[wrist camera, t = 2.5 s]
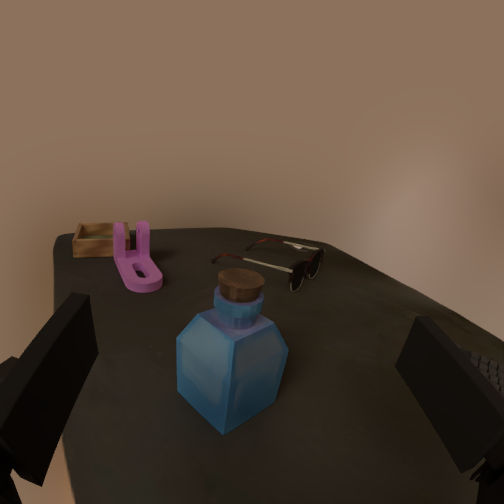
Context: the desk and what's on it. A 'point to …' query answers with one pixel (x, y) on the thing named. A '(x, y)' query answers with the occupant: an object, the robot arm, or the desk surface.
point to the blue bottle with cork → (231, 354)
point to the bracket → (136, 259)
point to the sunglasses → (295, 270)
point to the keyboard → (487, 368)
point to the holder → (96, 240)
